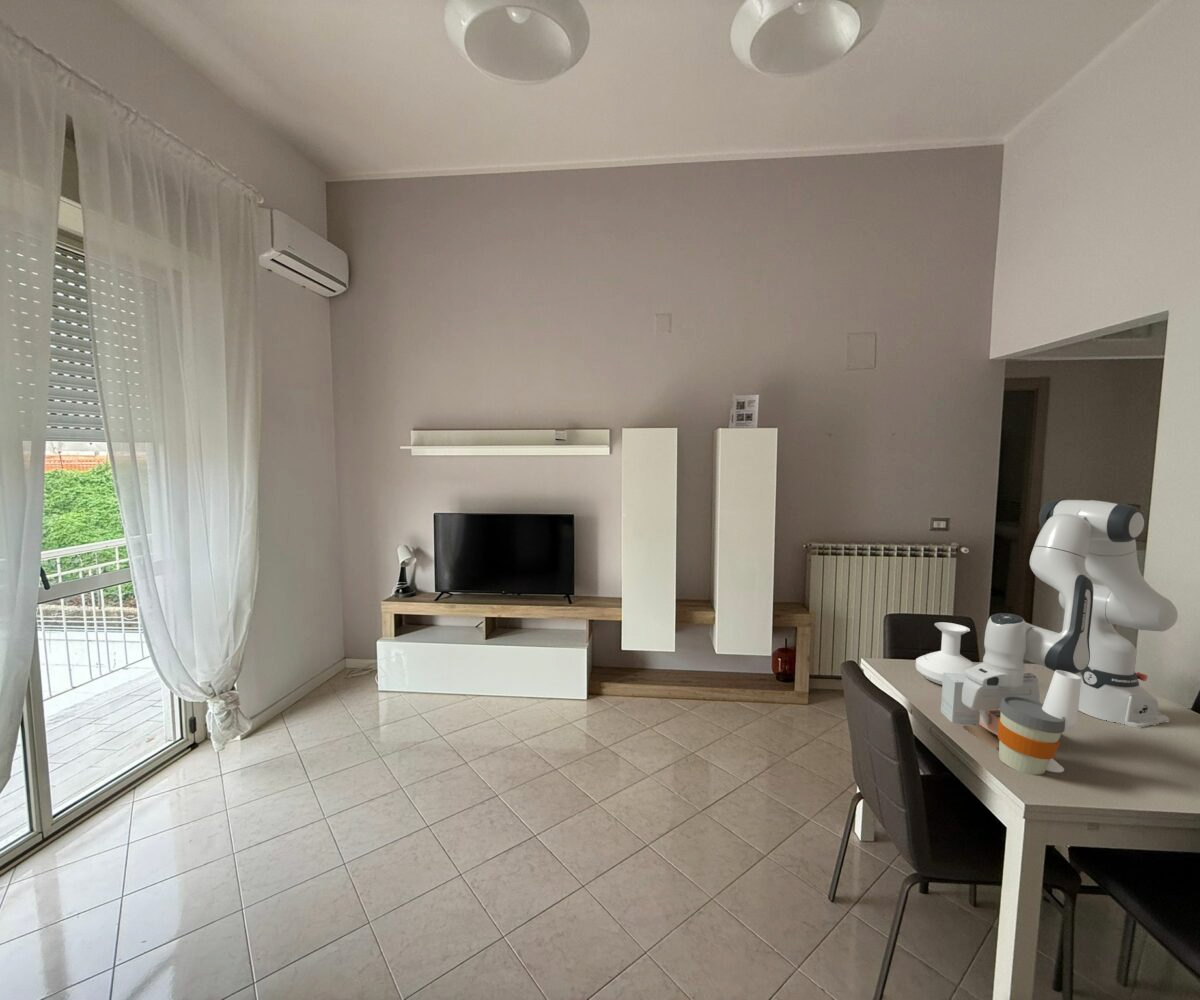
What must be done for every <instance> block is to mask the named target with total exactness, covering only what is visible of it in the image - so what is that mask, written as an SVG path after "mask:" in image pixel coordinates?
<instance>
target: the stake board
mask: <svg viewBox="0 0 1200 1000" xmlns="http://www.w3.org/2000/svg"><path fill="white" fill-rule="evenodd" d="M963 728H964V729H965V730H964V729H963ZM962 729H963V730H964V731H966V730H967V731H968V732H967V731H966V732H967V733H969V732H970V733H969V734H971V735H972V734H973V736H974V737H975V736H976V737H975V738H977V739H978V738H979V739H978V740H980V741H982V742H984V743H985V744H986V745H988V746H989V745H990V747H991V748H993V749H995V750H996V751H999V739H998V738H995V737H993V736H992V732H991V731H989V730H988V729H986V728H984V727H983V726H981V725H980V724H979V725H971V724H967V725H963V726H962Z"/></svg>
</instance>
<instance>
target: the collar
mask: <svg viewBox="0 0 1200 1000" xmlns="http://www.w3.org/2000/svg"><path fill="white" fill-rule="evenodd" d="M994 712H998V713H1001V712H1000V710H999V709H998V710H989V713H987V714H988V716H989V717H990V718H992V724H989V725H986V724H984V723H982V716H981V714H980V719H979V725H981V726H983V727H984V728H986V729H988V730H989V731H991V732H992V733H994V734H996V735H997V736H998V719H999V717H997V716H996V715H994V714H993V713H994Z"/></svg>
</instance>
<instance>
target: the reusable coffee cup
mask: <svg viewBox="0 0 1200 1000" xmlns="http://www.w3.org/2000/svg"><path fill="white" fill-rule="evenodd" d="M1043 704H1044V703H1042V702H1040V703H1039V702H1037V701H1034V700H1030V699H1027V698H1022V697H1017V696H1005V697H1003V699H1002V701H1001V704H1000V707H999V710H1000V712H1001V714H1000V718H999V719H998V739H999V750H998V758H999V760H1000V761H1001V762H1002V763H1003V764H1004V765H1006V766H1008V767H1010V768H1011V769H1013V770H1015V771H1018V772H1019V773H1023V774H1028V775H1037V776H1038V775H1044V774H1045V773H1046V771H1047V770H1046V768H1047V766H1048V764H1049V761H1050V759H1052V758H1053V759H1054V757H1055V755H1056V753H1057V751H1058V748H1059V746H1060V744H1061V739H1060V735H1061V736H1062V733H1064V732H1065V730H1066V729H1065V717H1062V719H1059V718H1056V717H1054V716H1052V715H1049V714H1048V713H1046V712H1044V711H1043V710H1042V706H1043Z"/></svg>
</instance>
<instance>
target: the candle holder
mask: <svg viewBox="0 0 1200 1000" xmlns="http://www.w3.org/2000/svg"><path fill="white" fill-rule="evenodd" d="M934 626H935V627H936V628H937V629H938V630H939V631H941V643H940V644H941V645H940V650H938V651H937V650H936V651H933V652H930V653H926V654H923V655H921V656H918V657H917V658H915V669H916V670H917V671H918V672H919V673H920V674H921V675H923V677H924V678H926V679H927V680H928V681H931V682H933V683H935V684H938V685H941V686H942V684H943V672H945V673H960V674H964V673H965V670H966V669H968V668H971V667H974V666H976V665H977V664H976V663H974V662H972V660H970V659H968V658H966V657H964V656H963V654H961V653H960V652H961V639H962V635H964V634H966V633H968V632H971V630H970V629H971V628H969V627H967V626H965V625H961V624H957V623H952V622H943V621H942V622H941V621H940V622H935V623H934Z"/></svg>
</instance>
